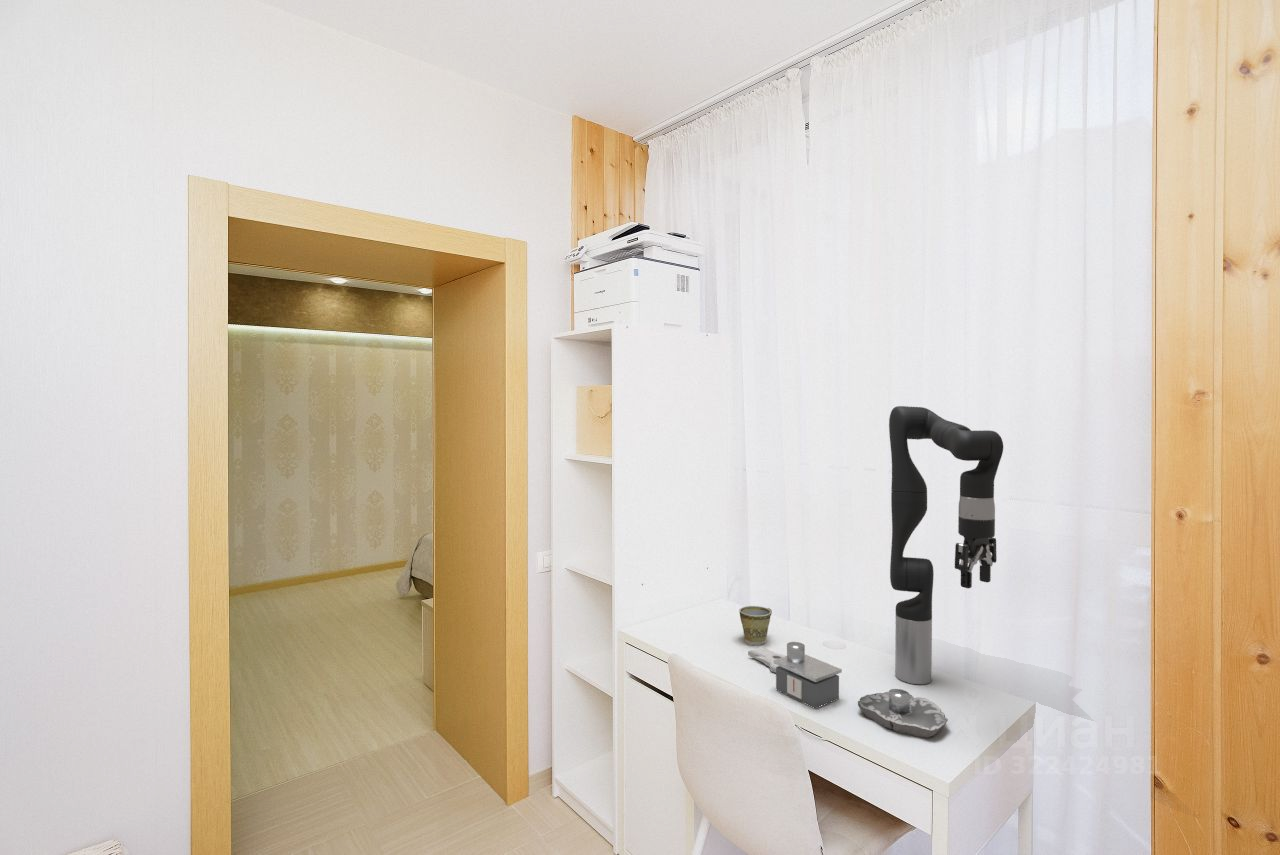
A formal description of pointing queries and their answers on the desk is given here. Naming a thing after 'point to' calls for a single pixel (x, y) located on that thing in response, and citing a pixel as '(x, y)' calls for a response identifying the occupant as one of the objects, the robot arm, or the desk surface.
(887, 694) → the brain slice
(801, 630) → the desk surface
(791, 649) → the cylinder
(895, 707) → the cylinder
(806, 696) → the scale
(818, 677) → the pan
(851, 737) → the desk surface
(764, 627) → the ceramic cup
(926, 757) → the desk surface
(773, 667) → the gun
